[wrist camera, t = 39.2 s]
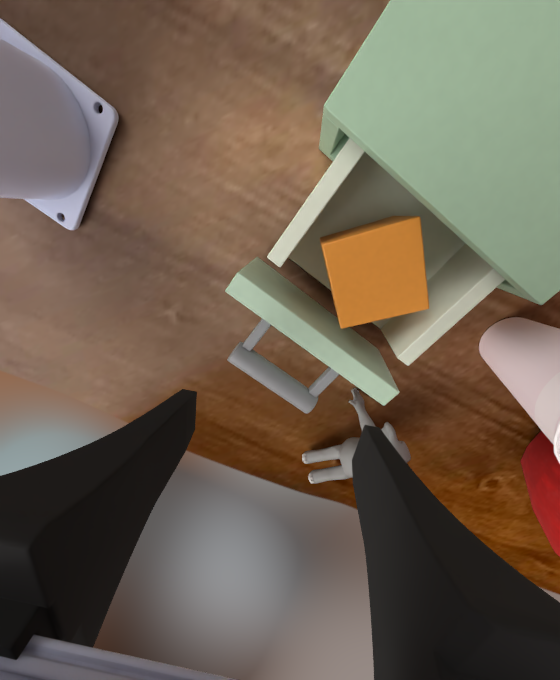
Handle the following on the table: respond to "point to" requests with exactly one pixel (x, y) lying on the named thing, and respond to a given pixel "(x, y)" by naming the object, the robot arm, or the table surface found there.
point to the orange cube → (377, 270)
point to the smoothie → (528, 369)
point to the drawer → (309, 316)
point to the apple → (544, 486)
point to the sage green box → (466, 124)
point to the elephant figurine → (349, 448)
